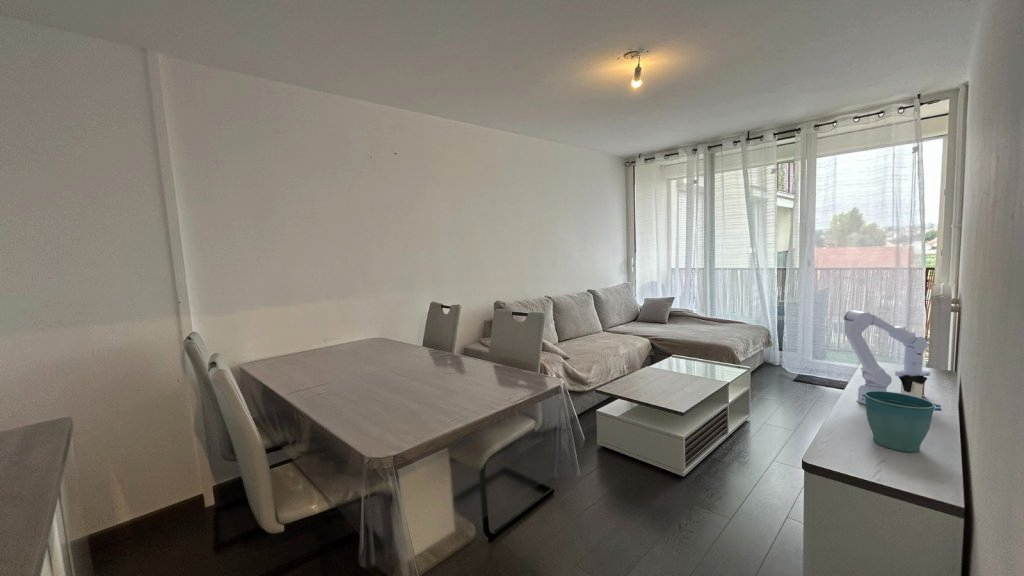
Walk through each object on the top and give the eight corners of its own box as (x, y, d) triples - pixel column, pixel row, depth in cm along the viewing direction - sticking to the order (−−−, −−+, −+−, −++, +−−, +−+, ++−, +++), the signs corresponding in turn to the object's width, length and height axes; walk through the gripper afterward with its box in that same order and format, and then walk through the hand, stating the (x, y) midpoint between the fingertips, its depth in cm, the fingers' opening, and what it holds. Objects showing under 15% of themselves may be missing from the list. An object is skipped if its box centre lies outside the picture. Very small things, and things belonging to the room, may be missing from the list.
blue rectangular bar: (930, 410, 177) (930, 408, 177) (927, 409, 178) (927, 407, 178) (940, 409, 177) (941, 408, 177) (938, 408, 178) (938, 407, 178)
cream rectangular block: (914, 399, 179) (915, 384, 178) (900, 395, 185) (901, 380, 184) (921, 399, 179) (922, 384, 178) (907, 395, 185) (909, 380, 184)
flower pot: (861, 429, 157) (863, 387, 156) (927, 443, 145) (930, 397, 144) (862, 446, 143) (865, 400, 142) (935, 462, 131) (939, 412, 130)
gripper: (907, 364, 176) (905, 394, 177) (938, 364, 177) (936, 394, 178) (891, 360, 183) (889, 389, 184) (921, 360, 184) (919, 389, 185)
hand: (911, 391), depth 182 cm, fingers closed on cream rectangular block, 3 cm apart
